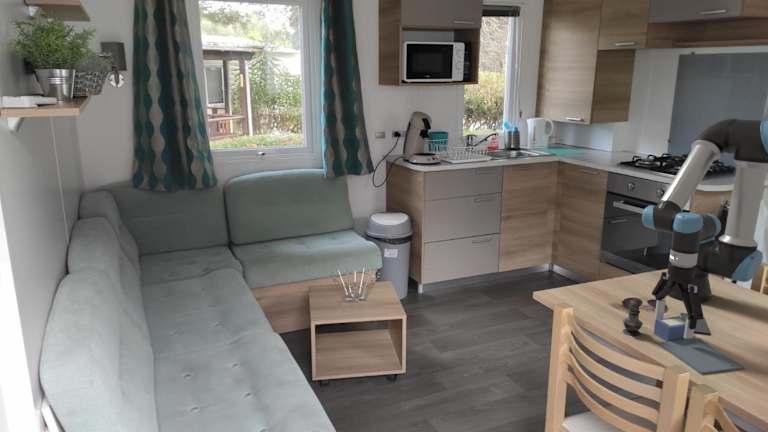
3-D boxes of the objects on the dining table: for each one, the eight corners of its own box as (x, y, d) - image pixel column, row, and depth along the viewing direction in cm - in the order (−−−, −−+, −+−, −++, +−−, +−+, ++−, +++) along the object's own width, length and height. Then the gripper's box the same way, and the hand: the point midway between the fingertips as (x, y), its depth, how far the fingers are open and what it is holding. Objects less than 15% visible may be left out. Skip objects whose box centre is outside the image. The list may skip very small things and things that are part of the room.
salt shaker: (631, 338, 183) (635, 302, 179) (617, 330, 188) (621, 295, 185) (645, 334, 185) (650, 299, 182) (631, 327, 190) (635, 292, 187)
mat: (698, 339, 181) (698, 337, 181) (744, 368, 164) (744, 366, 164) (658, 344, 178) (658, 342, 178) (701, 374, 161) (701, 372, 161)
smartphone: (703, 315, 198) (710, 333, 184) (702, 317, 198) (710, 336, 184) (680, 312, 200) (686, 330, 186) (680, 314, 200) (685, 332, 187)
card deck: (677, 330, 188) (679, 316, 187) (691, 339, 182) (693, 324, 181) (653, 334, 186) (655, 319, 184) (667, 342, 180) (669, 327, 179)
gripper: (645, 252, 189) (637, 312, 194) (701, 278, 165) (690, 347, 170) (665, 250, 190) (657, 311, 195) (724, 277, 167) (712, 345, 172)
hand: (672, 328), depth 183 cm, fingers open, 13 cm apart
